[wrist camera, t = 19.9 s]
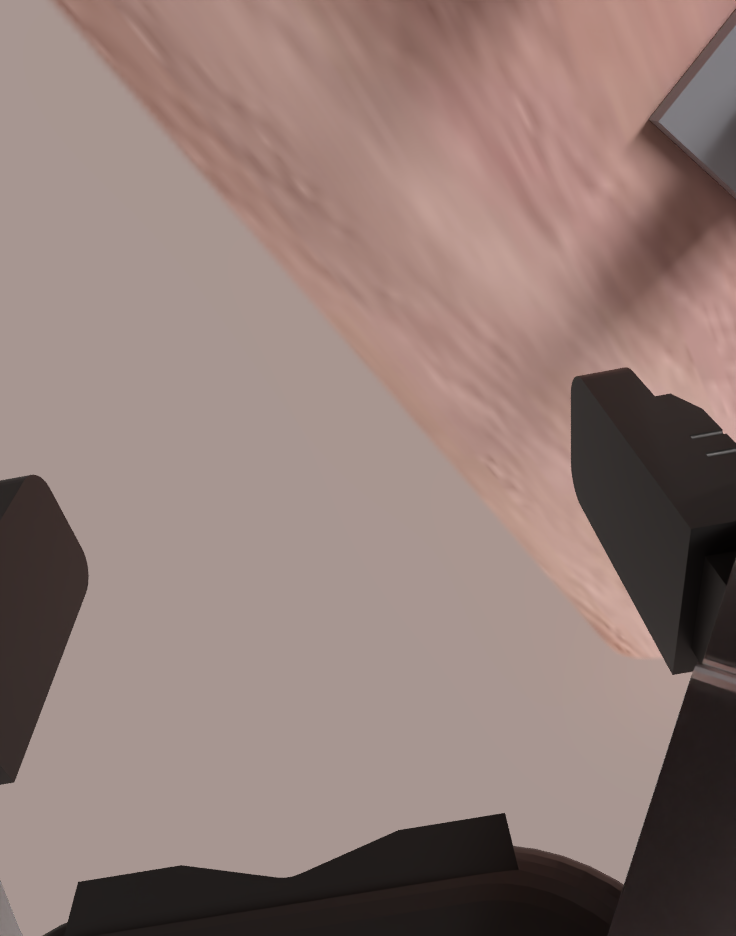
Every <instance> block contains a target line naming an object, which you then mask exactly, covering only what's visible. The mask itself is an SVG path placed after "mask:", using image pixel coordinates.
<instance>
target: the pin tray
mask: <svg viewBox="0 0 736 936" xmlns="http://www.w3.org/2000/svg"><path fill="white" fill-rule="evenodd" d="M649 120H650V121H651V122H652V123H653V124H655V125H656V126H657V127H658V128H659V129H660V130H661V131H662V132H663V133H664V134H665V135H667V136H668V137H669V138H670V139H671V140H672V141H673V142H674V143H675V144H676V145H677V146H679V147H680V148H681V149H682V150H683V151H684V152H685V153H686V154H687V155H688V156H689V157H691V158H692V159H693V160H694V161H695V162H696V163H697V164H698V165H699V166H700V167H701V168H703V169H704V170H705V171H706V172H707V173H708V174H709V175H710V176H711V177H712V178H714V179H715V180H716V181H717V182H718V183H719V184H720V185H721V186H722V187H723V188H724V189H726V190H727V191H728V192H729V193H730V194H731V195H732V196H733V197H734V198H735V199H736V10H735V11H734V12H733V13H732V15H731V16H730V17H729V18H728V20H727V21H726V22H725V24H724V25H723V26H722V27H721V29H720V30H719V31H718V32H717V34H716V35H715V36H714V37H713V39H712V40H711V41H710V42H709V44H708V45H707V46H706V47H705V49H704V50H703V51H702V53H701V54H700V55H699V56H698V58H697V59H696V60H695V61H694V63H693V64H692V65H691V66H690V68H689V69H688V70H687V71H686V73H685V74H684V75H683V76H682V78H681V79H680V80H679V82H678V83H677V84H676V85H675V87H674V88H673V89H672V90H671V92H670V93H669V94H668V95H667V97H666V98H665V99H664V100H663V102H662V103H661V104H660V105H659V107H658V108H657V109H656V111H655V112H654V113H653V114H652V116H651V117H650V118H649Z"/></svg>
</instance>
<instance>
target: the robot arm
mask: <svg viewBox="0 0 736 936" xmlns="http://www.w3.org/2000/svg"><path fill="white" fill-rule="evenodd" d="M571 470H572V478H573V484H574V488H575V492H576V495H577V498H578V501H579V503H580V505H581V507H582V509H583V511H584V513H585V515H586V516H587V518H588V520H589V522H590V524H591V526H592V527H593V529H594V531H595V533H596V535H597V537H598V538H599V540H600V542H601V544H602V546H603V548H604V550H605V551H606V553H607V555H608V557H609V559H610V561H611V562H612V564H613V566H614V568H615V570H616V572H617V573H618V575H619V577H620V579H621V581H622V583H623V584H624V586H625V588H626V590H627V592H628V594H629V596H630V597H631V599H632V601H633V603H634V605H635V607H636V608H637V610H638V612H639V614H640V616H641V618H642V619H643V621H644V623H645V625H646V627H647V629H648V631H649V632H650V634H651V636H652V638H653V640H654V642H655V643H656V645H657V647H658V649H659V651H660V653H661V654H662V656H663V658H664V660H665V662H666V664H667V666H668V667H669V669H670V671H671V672H672V675H674V674H680V673H686V672H692V671H693V673H692V676H691V678H690V681H689V684H688V687H687V690H686V693H685V697H684V700H683V703H682V706H681V709H680V712H679V715H678V718H677V721H676V725H675V728H674V731H673V734H672V737H671V740H670V743H669V746H668V750H667V753H666V755H665V759H664V762H663V765H662V768H661V771H660V774H659V777H658V780H657V784H656V787H655V790H654V793H653V796H652V799H651V802H650V805H649V808H648V811H647V815H646V818H645V821H644V824H643V827H642V830H641V833H640V836H639V839H638V842H637V846H636V849H635V852H634V855H633V858H632V861H631V864H630V867H629V871H628V873H627V877H626V880H625V883H624V885H623V884H622V883H620V882H619V881H617V880H615V879H613V878H611V877H610V876H608V875H606V874H604V873H602V872H600V871H598V870H596V869H594V868H592V867H590V866H588V865H585V864H583V863H580V862H577V861H574V860H572V859H570V858H567V857H564V856H561V855H557V854H553V853H550V852H545V851H541V850H538V849H531V848H524V847H516V846H513V845H512V840H511V836H510V832H509V828H508V824H507V820H506V815H505V813H502V814H496V815H490V816H484V817H478V818H471V819H465V820H459V821H453V822H447V823H441V824H435V825H428V826H422V827H416V828H409V829H403V830H398V831H396V832H393V833H391V834H389V835H387V836H385V837H382V838H380V839H378V840H376V841H373V842H371V843H369V844H367V845H364V846H362V847H360V848H357V849H355V850H353V851H351V852H348V853H346V854H344V855H342V856H339V857H337V858H335V859H333V860H331V861H328V862H326V863H324V864H321V865H319V866H317V867H315V868H312V869H310V870H308V871H306V872H303V873H301V874H299V875H296V876H293V877H287V878H276V877H268V876H260V875H251V874H245V873H237V872H228V871H221V870H213V869H206V868H197V867H190V866H182V865H181V866H175V867H168V868H162V869H156V870H150V871H144V872H137V873H132V874H125V875H119V876H114V877H107V878H101V879H94V880H88V881H82V882H78V885H77V889H76V892H75V896H74V900H73V904H72V908H71V912H70V916H69V919H68V922H67V923H65V924H63V925H61V926H59V927H57V928H55V929H53V930H52V931H50V932H48V933H46V934H45V935H43V936H736V443H735V442H734V441H733V440H732V439H731V438H730V437H729V436H728V435H727V434H723V432H722V429H721V428H720V427H719V425H718V424H717V423H716V422H715V421H714V420H713V419H712V418H711V417H710V416H709V415H708V414H707V413H706V412H705V411H704V410H703V409H702V408H700V407H697V406H695V405H693V404H691V403H689V402H687V401H685V400H683V399H681V398H678V397H676V396H674V395H672V394H666V395H660V396H654V395H653V394H652V393H651V391H650V390H649V389H648V388H647V387H646V386H645V385H644V384H643V382H642V381H641V380H640V379H639V378H638V377H637V376H636V374H635V373H634V372H633V371H632V370H631V369H629V368H620V369H614V370H609V371H603V372H598V373H593V374H587V375H582V376H576V377H575V378H574V379H573V382H572V387H571ZM87 586H88V566H87V561H86V557H85V555H84V552H83V550H82V548H81V546H80V544H79V542H78V540H77V539H76V537H75V535H74V533H73V531H72V529H71V527H70V525H69V524H68V522H67V520H66V518H65V516H64V514H63V512H62V510H61V509H60V507H59V505H58V503H57V501H56V499H55V497H54V495H53V494H52V492H51V490H50V488H49V487H48V485H47V483H46V482H45V481H44V480H43V479H42V478H41V477H39V476H36V475H29V476H24V477H18V478H12V479H7V480H1V481H0V785H1V784H6V783H13V782H14V781H15V779H16V776H17V774H18V771H19V768H20V766H21V763H22V760H23V758H24V755H25V752H26V750H27V747H28V745H29V742H30V739H31V737H32V734H33V731H34V729H35V726H36V723H37V721H38V718H39V715H40V713H41V710H42V707H43V705H44V702H45V700H46V697H47V694H48V692H49V689H50V686H51V684H52V681H53V678H54V676H55V673H56V670H57V668H58V665H59V663H60V660H61V657H62V655H63V652H64V649H65V646H66V644H67V641H68V638H69V636H70V634H71V631H72V628H73V626H74V623H75V620H76V618H77V615H78V612H79V610H80V607H81V604H82V602H83V599H84V597H85V594H86V591H87ZM0 936H23V935H22V933H21V931H20V929H19V927H18V924H17V922H16V919H15V917H14V914H13V912H12V909H11V907H10V904H9V902H8V899H7V896H6V894H5V891H4V889H3V886H2V884H1V881H0Z"/></svg>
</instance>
